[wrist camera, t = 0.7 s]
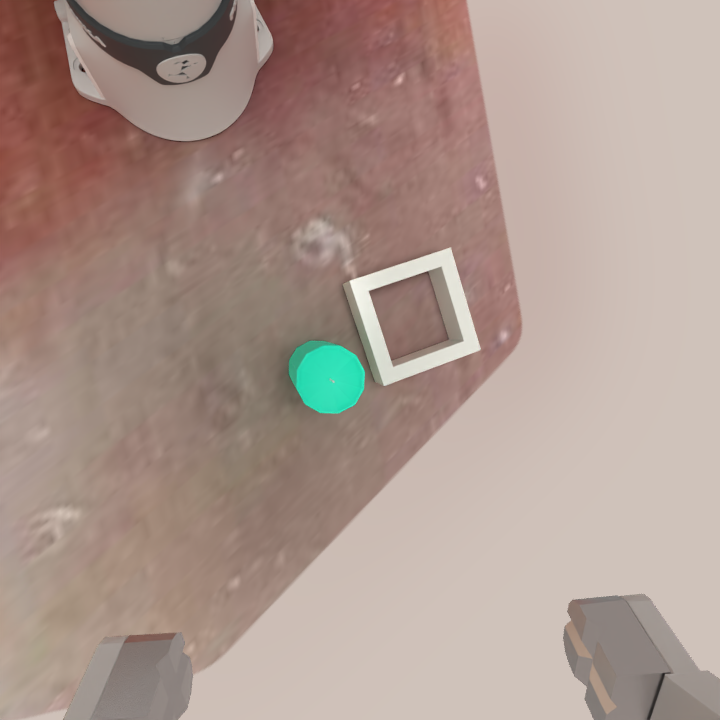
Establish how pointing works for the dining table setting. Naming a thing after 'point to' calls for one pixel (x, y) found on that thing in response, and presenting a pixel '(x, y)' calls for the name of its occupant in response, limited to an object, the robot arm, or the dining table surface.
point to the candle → (326, 376)
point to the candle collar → (450, 307)
